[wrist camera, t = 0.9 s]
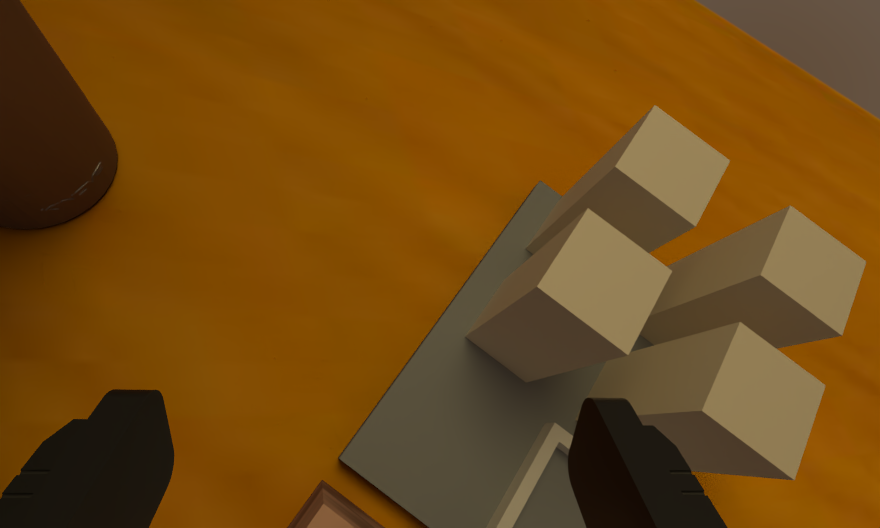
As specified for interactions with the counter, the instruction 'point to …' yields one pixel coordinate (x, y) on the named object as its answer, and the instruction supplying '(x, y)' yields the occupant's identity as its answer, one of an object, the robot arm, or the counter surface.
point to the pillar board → (472, 412)
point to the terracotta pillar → (331, 511)
